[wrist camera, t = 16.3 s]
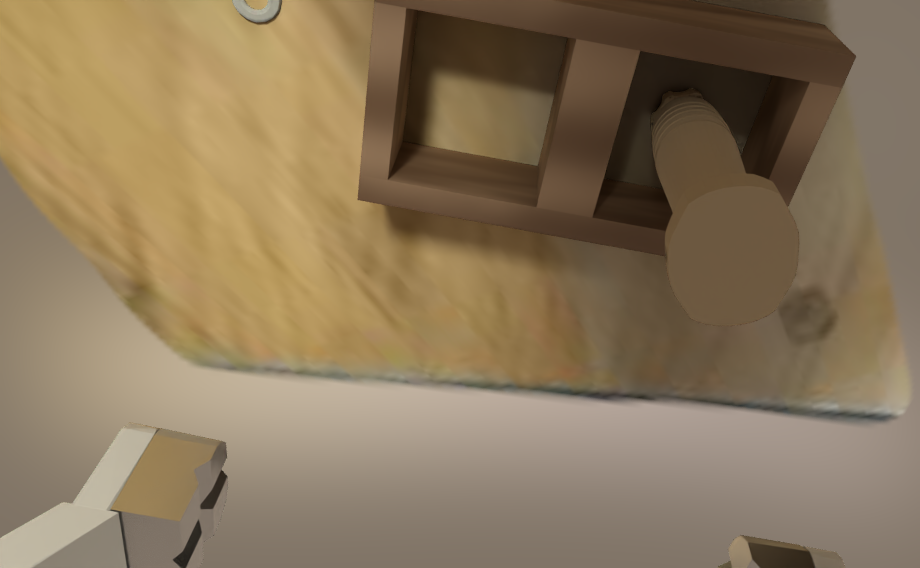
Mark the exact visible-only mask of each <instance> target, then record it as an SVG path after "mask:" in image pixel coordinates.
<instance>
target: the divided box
mask: <svg viewBox="0 0 920 568" xmlns="http://www.w3.org/2000/svg"><path fill="white" fill-rule="evenodd" d="M418 10H420V11H426V12H431V13H437V14H442V15H448V16H453V17H459V18H464V19H469V20H475V21H480V22H486V23H491V24H497V25H502V26H508V27H513V28H518V29H524V30H529V31H535V32H540V33H546V34H551V35H557V36H562V37H567V38H568V39H567V43H566V47H565V52H564V56H563V60H562V65H561V69H560V73H559V78H558V82H557V86H556V91H555V95H554V99H553V104H552V108H551V112H550V117H549V121H548V125H547V130H546V134H545V138H544V143H543V147H542V151H541V156H540V160H539V164H538V166H533V165H528V164H522V163H517V162H511V161H506V160H500V159H495V158H489V157H484V156H478V155H473V154H468V153H462V152H457V151H451V150H446V149H440V148H435V147H429V146H424V145H418V144H413V143H407V142H403V136H404V127H405V119H406V110H407V102H408V93H409V85H410V76H411V68H412V59H413V51H414V42H415V34H416V25H417V17H418ZM640 51H644V52H649V53H655V54H660V55H666V56H671V57H676V58H682V59H687V60H693V61H698V62H704V63H709V64H715V65H720V66H725V67H731V68H736V69H742V70H747V71H753V72H758V73H764V74H769V75H773V77H772V79H771V82H770V84H769V87H768V89H767V92H766V94H765V97H764V99H763V102H762V104H761V107H760V109H759V112H758V115H757V117H756V120H755V122H754V125H753V127H752V130H751V132H750V135H749V137H748V140H747V142H746V145H745V147H744V150H743V152H742V155H741V159H742V162H743V165H744V169H745V172H746V174H755V175H758V176H761V177H764V178H766V179H768V180H770V181H772V182H773V183H774V184H775V186H776V188H777V189H778V191H779V193H780V195H781V196H782V198H783V200H784V202H785V203H786V205H787V207H788V206H789V204H790V201H791V199H792V197H793V195H794V193H795V190H796V188H797V186H798V184H799V182H800V179H801V177H802V175H803V173H804V171H805V168H806V166H807V164H808V162H809V160H810V157H811V155H812V153H813V151H814V148H815V146H816V144H817V142H818V140H819V137H820V135H821V133H822V131H823V129H824V126H825V124H826V122H827V120H828V118H829V115H830V113H831V111H832V109H833V107H834V104H835V102H836V100H837V98H838V96H839V93H840V91H841V89H842V87H843V84H844V82H845V80H846V78H847V76H848V73H849V71H850V69H851V67H852V65H853V62H854V60H855V58H856V55H854V54H853V53H852V52H851V51H850V50H849V49H848V48H847V47H846V46H845V45H844V44H843V43H842V42H841V41H840V40H839V39H838V38H837V37H836V36H835V35H834V34H833V33H832V32H831V31H830V30H829V29H828V28H827V27H826V26H825V25H822V24H817V23H811V22H806V21H801V20H795V19H790V18H784V17H779V16H773V15H768V14H762V13H757V12H752V11H746V10H741V9H735V8H730V7H724V6H719V5H714V4H708V3H703V2H697V1H692V0H375V1H374V13H373V25H372V37H371V48H370V60H369V72H368V84H367V96H366V107H365V119H364V131H363V143H362V155H361V166H360V178H359V190H358V200H361V201H366V202H372V203H377V204H383V205H388V206H394V207H399V208H405V209H410V210H416V211H421V212H427V213H432V214H438V215H443V216H449V217H454V218H459V219H465V220H470V221H476V222H481V223H487V224H492V225H498V226H503V227H509V228H514V229H520V230H525V231H531V232H536V233H542V234H547V235H553V236H558V237H564V238H569V239H574V240H580V241H585V242H591V243H596V244H602V245H607V246H613V247H618V248H624V249H629V250H635V251H640V252H646V253H651V254H657V255H662V256H665V232H666V229H667V226H668V224H669V221H670V218H671V216H672V214H673V212H672V209H671V207H670V204H669V202H668V199H667V197H666V194H665V192H664V189H659V188H653V187H648V186H642V185H637V184H632V183H626V182H621V181H615V180H610V179H604V175H605V172H606V168H607V165H608V161H609V158H610V154H611V151H612V147H613V144H614V140H615V137H616V134H617V130H618V127H619V123H620V120H621V116H622V113H623V109H624V106H625V102H626V99H627V95H628V92H629V88H630V85H631V81H632V78H633V75H634V71H635V68H636V64H637V61H638V57H639V54H640Z"/></svg>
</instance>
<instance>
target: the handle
mask: <svg viewBox="0 0 920 568" xmlns="http://www.w3.org/2000/svg"><path fill="white" fill-rule="evenodd" d="M650 127H651V132H652V148H653V156H654V162H655V166H656V170H657V174H658V177H659V179H660V182H661V184H662V187H663V189H664V192H665V194H666V197H667V199H668V202H669V204H670V207H671V209H672V212H673V214H672V216H671V218H670V221H669V224H668V226H667V229H666V232H665V259H666V269H667V274H668V278H669V282H670V286H671V288H672V290H673V293H674V295H675V297H676V298H677V300H678V301H679V303H680V304H681V306H682V307H683V309H684V310H685V312H686V313H687V315H688V316H689V318H690V319H692V320H695V321H697V322H700V323H703V324H706V325H714V326H733V325H741V324H746V323H750V322H754V321H757V320H759V319H761V318H764V317H766V316H767V315H769V314H771V313H773V312H774V311H775V309H776V308H777V306H778V305H779V303H780V302H781V300H782V299H783V297H784V296H785V294H786V292H787V291H788V289H789V288H790V286H791V284H792V282H793V280H794V278H795V275H796V270H797V265H798V252H799V232H798V229H797V226H796V223H795V221H794V219H793V217H792V215H791V213H790V211H789V209H788V207H787V205H786V203H785V202H784V200H783V198H782V196H781V195H780V193H779V191H778V189H777V188H776V186H775V184H774V183H773V182H772V181H770V180H768V179H766V178H764V177H761V176H758V175H755V174H746V172H745V169H744V165H743V162H742V159H741V156H740V153H739V150H738V146H737V144H736V141H735V139H734V137H733V135H732V133H731V131H730V129H729V127H728V126H727V124H726V123H725V121H724V120H723V118H722V117H721V115H720V114H719V112H718V111H717V110H716V109H715V108H714V107H713V106H712V105H711V104H710V103H708V102H707V101H705V100H703V98H702V95H701V93H700V92H699V91H698V90H695V89H692V88H689V89H688V90H686V91H683V92H672V91H668V92H667V93H665V94H664V95H663V99H662V102H661V104H660V106H659V108H658V109H657V111H656V112H654V113H653V114H652V116H651V120H650Z"/></svg>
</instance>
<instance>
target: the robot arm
mask: <svg viewBox="0 0 920 568" xmlns="http://www.w3.org/2000/svg"><path fill="white" fill-rule="evenodd" d="M226 458H227V451H226V443H225V442H223V441H219V440H214V439H209V438H205V437H200V436H195V435H191V434H186V433H181V432H176V431H172V430H166V429H162V428H161V429H160V428H156V427H151V426H146V425H141V424H136V423H131V422H130V423H128V424H127V425H126V426H125V427H124V428H122V429H121V430H120V431H119V433H118V435H117V436H116V438H115V439H114V441H113V442H112V444H111V445H110V447H109V448H108V450H107V451H106V453H105V455H104V456H103V458H102V459H101V461H100V462H99V464H98V465H97V467H96V469H95V470H94V472H93V473H92V474H91V476H90V477H89V479H88V481H87V482H86V484H85V485H84V487H83V488H82V490H81V491H80V493H79V494H78V496H77V497H76V499H75V500H74V502H73V504H71V503H64V502H62V503H61V504H59V505H57V506H55V507H54V508H52V509H51V510H49V511H47V512H45V513H43V514H41V515H40V516H38V517H36V518H35V519H33V520H31V521H29V522H27V523H26V524H24V525H22V526H20V527H19V528H17V529H15V530H13V531H12V532H10V533H8V534H6V535H5V536H3V537H1V538H0V568H200V566H201V564H202V562H203V542H205V541H206V540H208V539H209V538H211V537H212V536H214V534H215V532H216V530H217V527H218V525H219V522H220V520H221V517H222V513H223V510H224V506H225V503H226V497H227V489H228V477H227V475H226V474H225V473H224V472H223V471H222V467H223V465H224V463H225V460H226ZM728 551H729V555H730V561H728V562H727V563H724V564H722V565H720V566H718V568H845V565H844V563H843V560H842V558H841V557H840V556H839V555H838V554H837V553H836V552H832V551H826V550H821V549H816V548H810V547H802V546H800V545H796V544H790V543H785V542H779V541H773V540H767V539H761V538H755V537H749V536H743V535H740V536H738V537H736V538H735V539H734V540H733V542H732V543H731V545H730V547H729V548H728Z"/></svg>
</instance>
